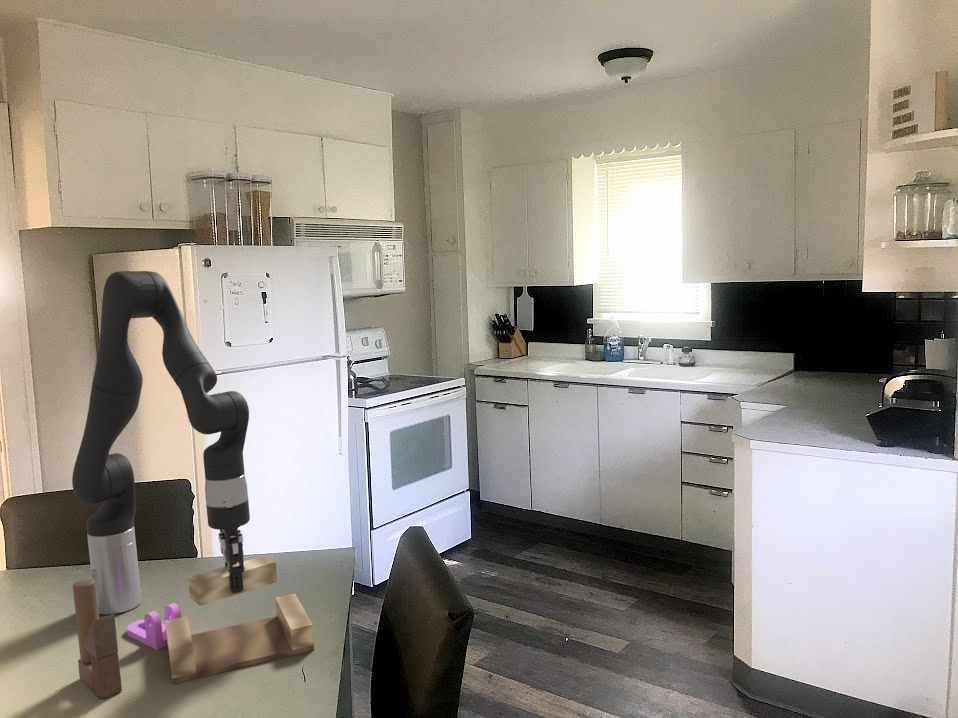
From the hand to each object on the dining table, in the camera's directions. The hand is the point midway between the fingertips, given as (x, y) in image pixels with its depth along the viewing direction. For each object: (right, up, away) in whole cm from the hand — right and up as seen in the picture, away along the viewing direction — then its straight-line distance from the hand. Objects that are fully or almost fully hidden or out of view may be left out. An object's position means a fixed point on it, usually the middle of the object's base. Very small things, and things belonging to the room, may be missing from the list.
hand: (234, 585), depth 150 cm
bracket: (-19, -13, +8) cm, 24 cm away
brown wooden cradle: (0, -12, +2) cm, 12 cm away
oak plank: (0, -1, 0) cm, 1 cm away
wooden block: (-21, -15, -10) cm, 27 cm away
